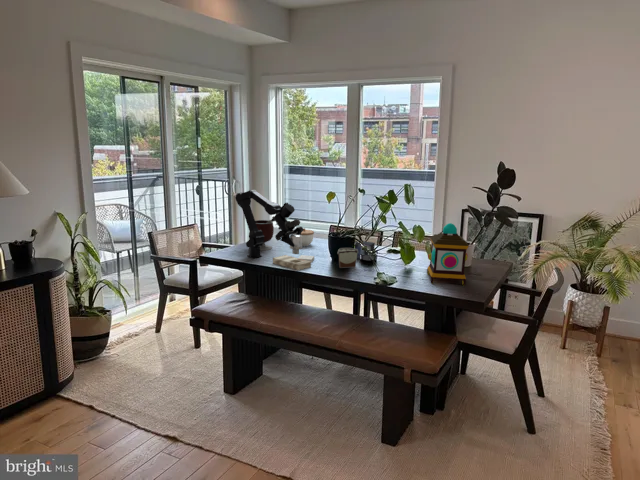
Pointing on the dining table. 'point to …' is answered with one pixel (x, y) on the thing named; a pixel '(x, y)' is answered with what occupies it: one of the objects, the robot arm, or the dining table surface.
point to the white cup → (296, 243)
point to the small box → (358, 246)
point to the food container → (347, 257)
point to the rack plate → (291, 262)
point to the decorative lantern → (447, 255)
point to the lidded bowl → (307, 237)
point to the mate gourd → (265, 232)
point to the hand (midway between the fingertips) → (297, 245)
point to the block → (307, 258)
